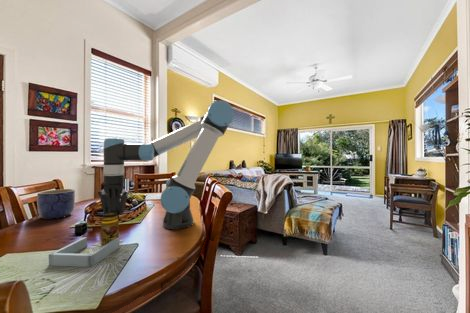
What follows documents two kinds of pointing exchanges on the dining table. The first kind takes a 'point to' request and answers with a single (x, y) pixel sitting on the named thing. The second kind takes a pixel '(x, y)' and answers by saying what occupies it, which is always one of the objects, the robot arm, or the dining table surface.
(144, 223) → the dining table surface
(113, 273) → the dining table surface
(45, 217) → the planter
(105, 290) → the dining table surface
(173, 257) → the dining table surface
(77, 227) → the black angular block
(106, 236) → the condiment
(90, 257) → the bay
